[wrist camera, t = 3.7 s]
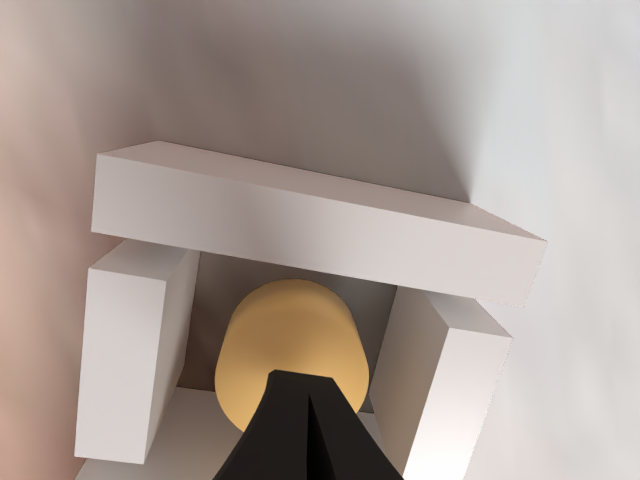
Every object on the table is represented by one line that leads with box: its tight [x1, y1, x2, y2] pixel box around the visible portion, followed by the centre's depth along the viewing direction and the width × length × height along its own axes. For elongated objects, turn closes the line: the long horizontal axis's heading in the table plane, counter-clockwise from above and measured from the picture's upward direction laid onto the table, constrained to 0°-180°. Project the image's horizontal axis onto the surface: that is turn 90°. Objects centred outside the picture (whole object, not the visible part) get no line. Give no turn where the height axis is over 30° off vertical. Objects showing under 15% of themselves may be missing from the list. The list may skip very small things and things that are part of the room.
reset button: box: [215, 279, 369, 432], centre depth 11 cm, size 4×4×2 cm
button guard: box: [74, 141, 548, 480], centre depth 12 cm, size 9×9×4 cm
